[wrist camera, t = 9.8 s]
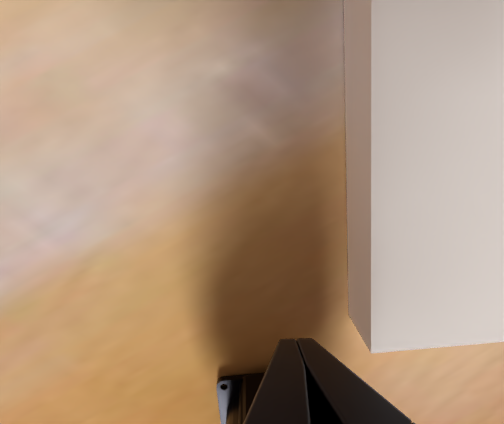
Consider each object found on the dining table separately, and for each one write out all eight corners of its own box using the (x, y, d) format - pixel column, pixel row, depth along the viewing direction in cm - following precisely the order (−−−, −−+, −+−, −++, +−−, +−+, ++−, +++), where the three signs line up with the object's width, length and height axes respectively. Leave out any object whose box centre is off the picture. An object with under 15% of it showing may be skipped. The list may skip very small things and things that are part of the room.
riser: (556, 296, 22) (622, 331, 18) (348, 314, 22) (371, 353, 18) (610, -90, 17) (718, -156, 13) (342, -68, 17) (371, -128, 13)
